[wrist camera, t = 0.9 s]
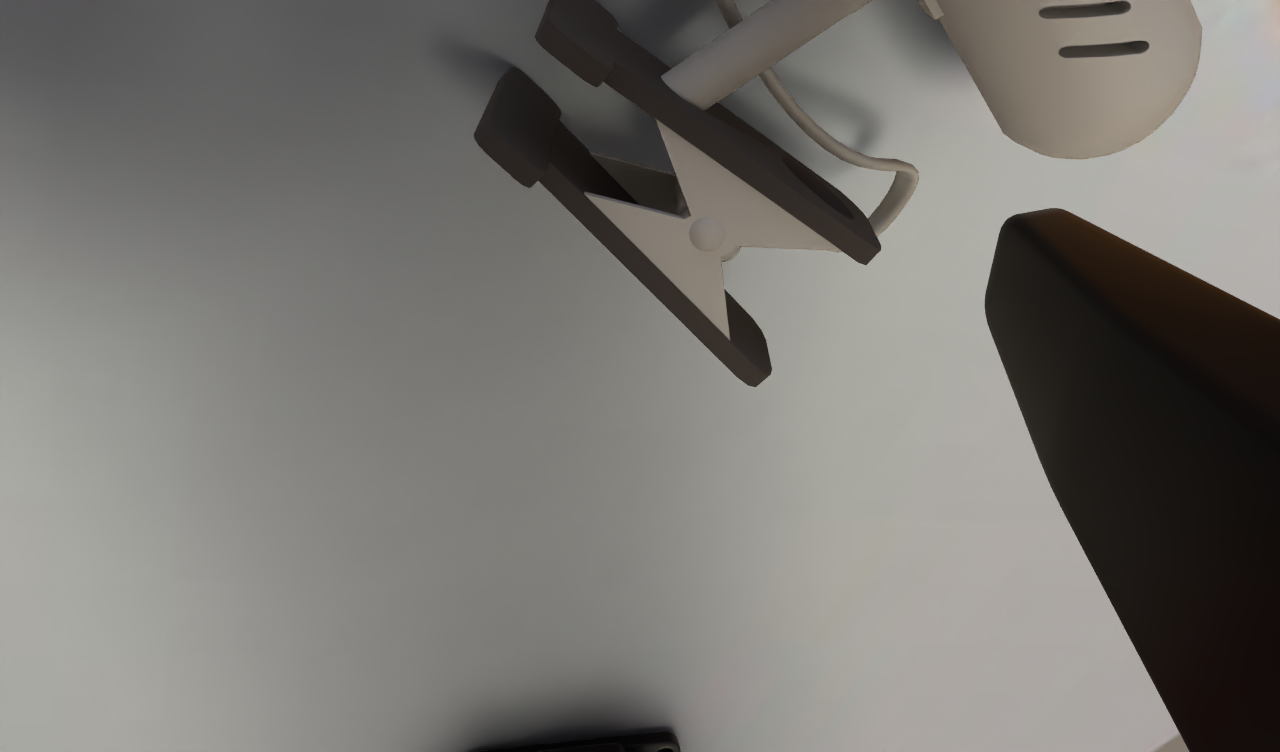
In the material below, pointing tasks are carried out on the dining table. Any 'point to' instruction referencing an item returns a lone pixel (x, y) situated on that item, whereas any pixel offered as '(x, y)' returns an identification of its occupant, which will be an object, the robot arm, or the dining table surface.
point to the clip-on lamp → (813, 132)
